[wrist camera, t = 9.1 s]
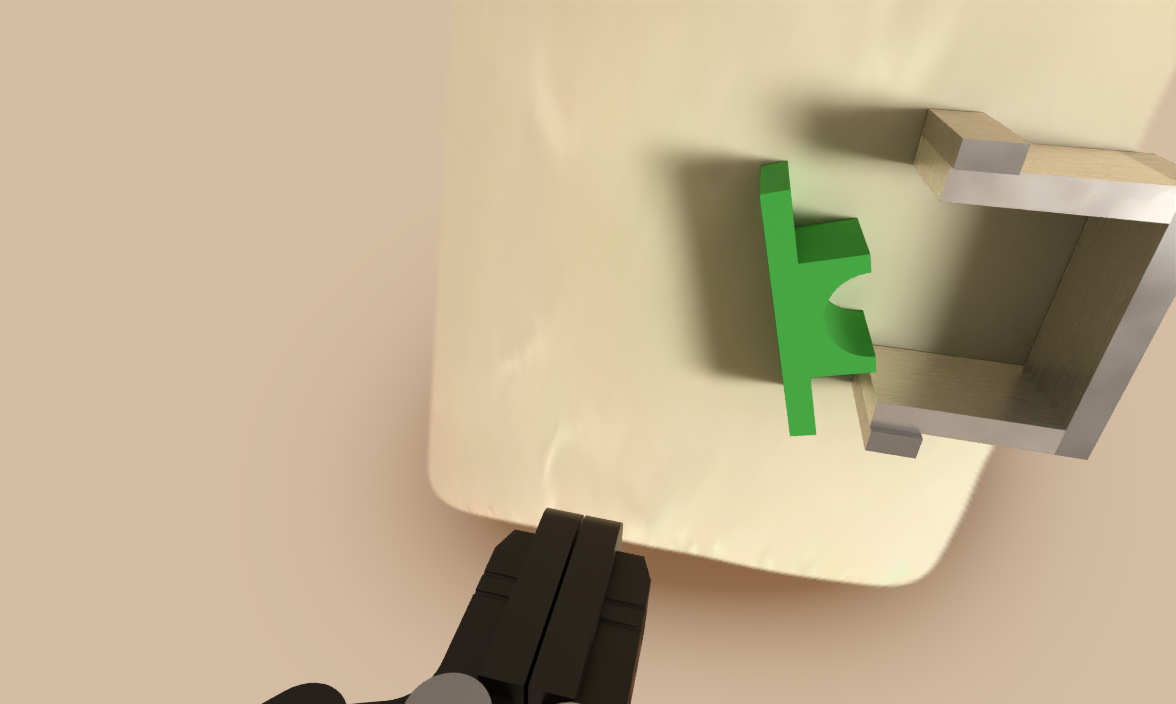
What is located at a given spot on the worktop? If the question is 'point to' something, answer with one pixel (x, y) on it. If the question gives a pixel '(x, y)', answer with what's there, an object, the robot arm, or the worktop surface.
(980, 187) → the grey u-shaped bracket
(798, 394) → the pipe clamp
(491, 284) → the worktop surface
